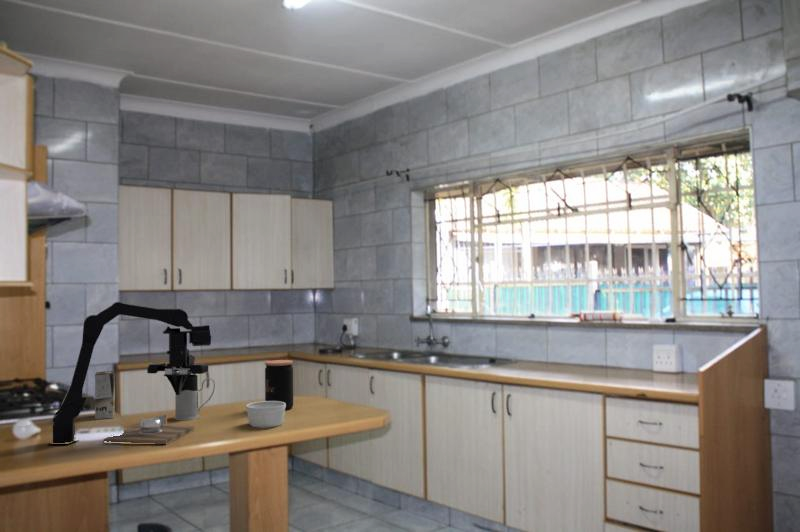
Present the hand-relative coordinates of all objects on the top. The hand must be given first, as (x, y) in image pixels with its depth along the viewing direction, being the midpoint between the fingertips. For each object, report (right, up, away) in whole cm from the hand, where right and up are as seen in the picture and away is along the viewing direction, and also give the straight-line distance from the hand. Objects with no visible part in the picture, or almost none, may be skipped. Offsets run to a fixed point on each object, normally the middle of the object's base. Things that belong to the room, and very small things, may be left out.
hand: (178, 394), depth 225 cm
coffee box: (-36, -13, +27) cm, 46 cm away
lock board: (-7, -12, -7) cm, 15 cm away
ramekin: (+27, -12, +10) cm, 31 cm away
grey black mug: (-2, -13, +24) cm, 27 cm away
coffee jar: (+26, -13, +38) cm, 48 cm away
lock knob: (-6, -10, -4) cm, 12 cm away
